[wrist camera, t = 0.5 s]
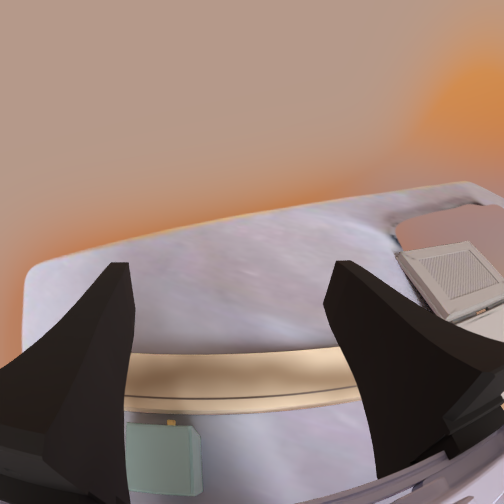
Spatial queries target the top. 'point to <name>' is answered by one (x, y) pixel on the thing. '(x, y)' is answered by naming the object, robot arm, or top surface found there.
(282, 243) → the top surface
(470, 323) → the gadget
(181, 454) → the green box with tab
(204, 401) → the plank
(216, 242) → the top surface
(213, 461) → the top surface
